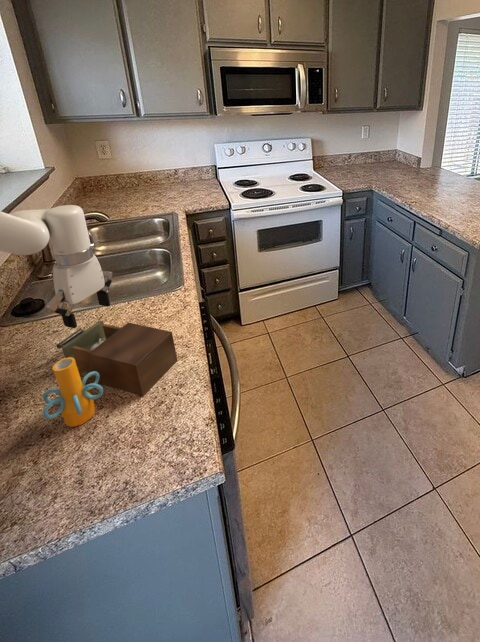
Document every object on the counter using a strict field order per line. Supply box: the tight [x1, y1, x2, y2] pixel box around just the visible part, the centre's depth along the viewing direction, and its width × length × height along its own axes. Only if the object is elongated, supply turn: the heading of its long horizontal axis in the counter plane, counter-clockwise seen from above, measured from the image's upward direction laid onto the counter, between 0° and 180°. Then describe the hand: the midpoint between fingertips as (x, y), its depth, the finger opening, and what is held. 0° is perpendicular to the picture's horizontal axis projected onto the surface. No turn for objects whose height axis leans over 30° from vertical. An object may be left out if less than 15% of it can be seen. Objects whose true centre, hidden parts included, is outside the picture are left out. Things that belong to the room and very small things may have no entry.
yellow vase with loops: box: [42, 357, 104, 428], centre depth 80 cm, size 12×10×15 cm
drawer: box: [55, 320, 122, 373], centre depth 97 cm, size 19×11×8 cm, turn 73°
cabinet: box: [88, 322, 178, 397], centre depth 93 cm, size 15×13×10 cm
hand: (88, 315), depth 92 cm, fingers open, 9 cm apart
